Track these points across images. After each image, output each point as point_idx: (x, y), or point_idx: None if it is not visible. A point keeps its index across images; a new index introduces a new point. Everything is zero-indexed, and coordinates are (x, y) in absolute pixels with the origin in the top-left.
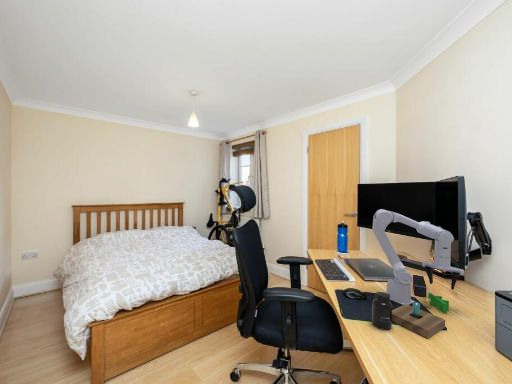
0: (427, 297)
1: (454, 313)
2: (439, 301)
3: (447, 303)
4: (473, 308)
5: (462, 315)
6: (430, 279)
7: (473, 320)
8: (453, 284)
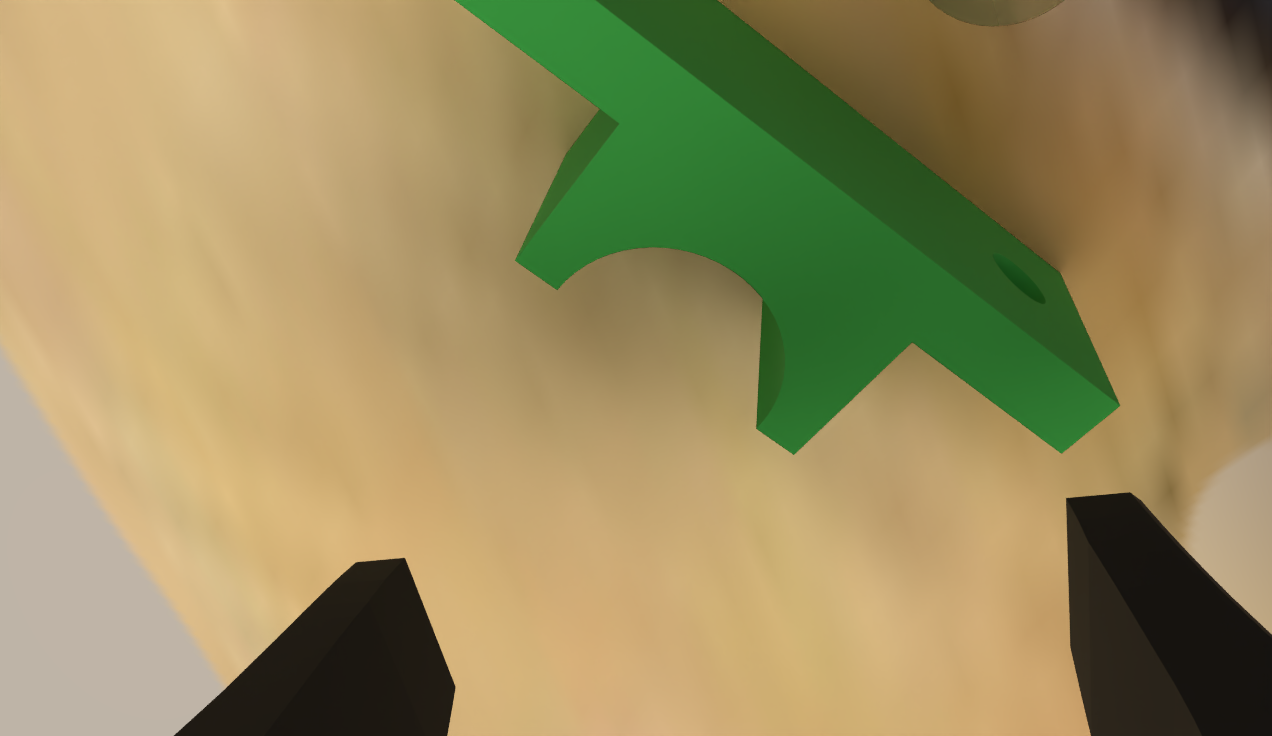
0: (1029, 11)
1: (450, 146)
2: (677, 51)
3: (547, 204)
4: None
5: (331, 197)
6: (1168, 617)
7: (124, 148)
8: (222, 698)
